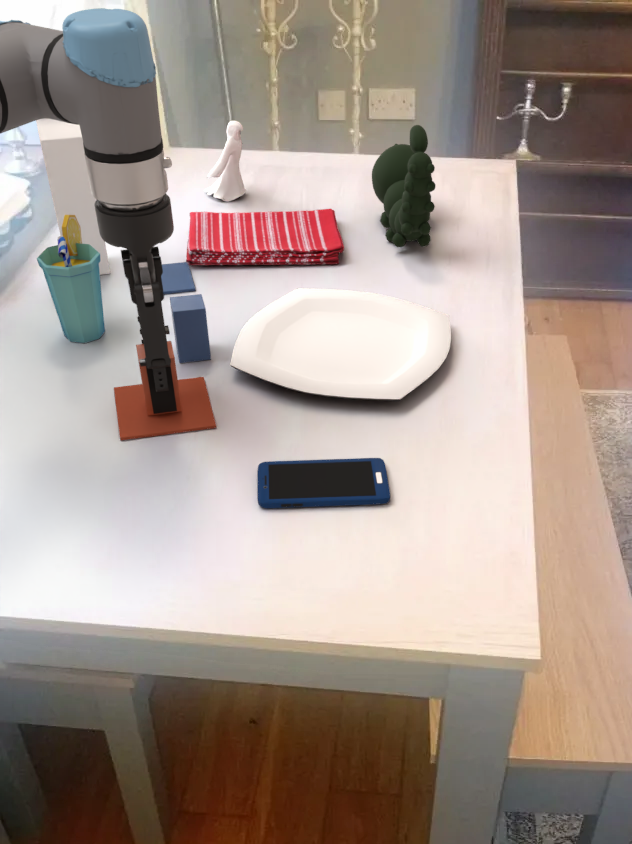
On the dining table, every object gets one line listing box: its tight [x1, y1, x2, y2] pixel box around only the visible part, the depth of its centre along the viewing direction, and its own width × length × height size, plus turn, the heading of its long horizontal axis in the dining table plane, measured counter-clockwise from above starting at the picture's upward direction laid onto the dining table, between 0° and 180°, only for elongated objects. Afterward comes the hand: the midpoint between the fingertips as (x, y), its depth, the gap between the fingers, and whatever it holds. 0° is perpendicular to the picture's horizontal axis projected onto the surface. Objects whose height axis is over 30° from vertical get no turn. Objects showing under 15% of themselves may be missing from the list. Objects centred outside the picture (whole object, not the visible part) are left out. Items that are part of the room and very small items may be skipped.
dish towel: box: [185, 208, 345, 266], centre depth 139 cm, size 17×24×3 cm
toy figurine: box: [371, 124, 436, 248], centre depth 137 cm, size 9×19×25 cm
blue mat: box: [161, 261, 197, 295], centre depth 130 cm, size 9×9×1 cm
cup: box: [36, 215, 106, 344], centre depth 113 cm, size 14×8×15 cm, turn 12°
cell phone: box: [256, 457, 391, 509], centre depth 96 cm, size 7×14×1 cm, turn 94°
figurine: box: [203, 120, 247, 202], centre depth 149 cm, size 8×8×12 cm
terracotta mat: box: [113, 376, 218, 441], centre depth 106 cm, size 11×11×1 cm
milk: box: [35, 118, 111, 276], centre depth 126 cm, size 6×6×22 cm
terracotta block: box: [135, 340, 182, 416], centre depth 104 cm, size 4×4×7 cm
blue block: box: [169, 293, 212, 364], centre depth 113 cm, size 4×4×7 cm
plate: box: [229, 287, 452, 401], centre depth 115 cm, size 27×27×2 cm
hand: (162, 399), depth 106 cm, fingers closed on terracotta block, 4 cm apart
